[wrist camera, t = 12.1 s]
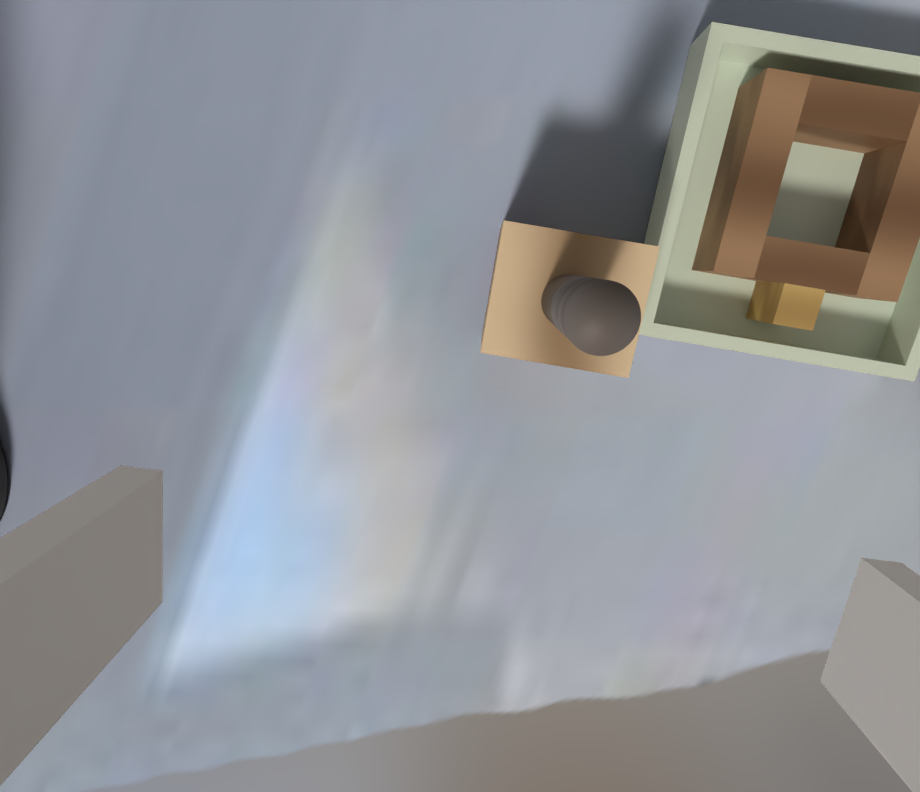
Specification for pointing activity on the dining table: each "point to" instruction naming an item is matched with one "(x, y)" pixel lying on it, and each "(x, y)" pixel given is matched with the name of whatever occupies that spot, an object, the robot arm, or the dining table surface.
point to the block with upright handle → (567, 298)
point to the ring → (869, 210)
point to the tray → (794, 216)
